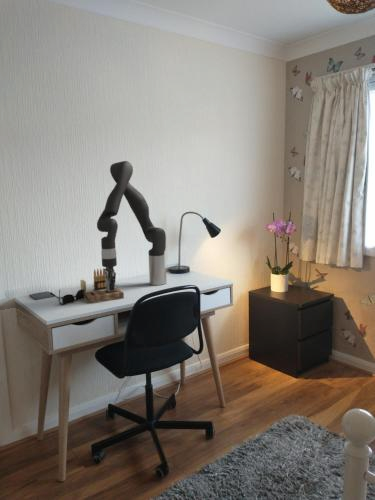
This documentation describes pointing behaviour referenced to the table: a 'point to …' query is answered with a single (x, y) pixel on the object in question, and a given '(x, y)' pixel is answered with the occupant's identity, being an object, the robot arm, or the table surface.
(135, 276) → the table surface
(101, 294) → the bore block
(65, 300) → the sunglasses
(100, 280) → the ammunition clip
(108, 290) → the square bit
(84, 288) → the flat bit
